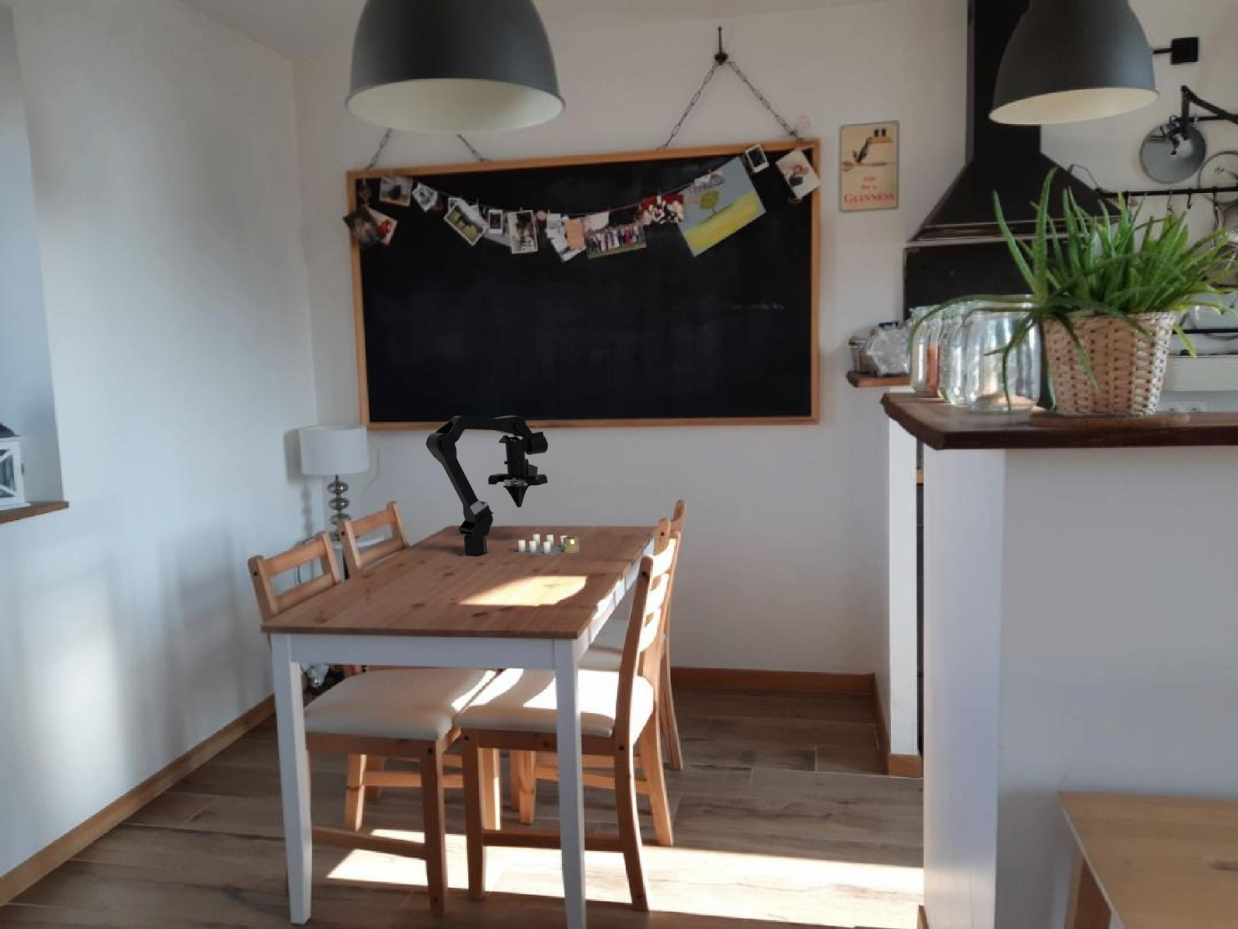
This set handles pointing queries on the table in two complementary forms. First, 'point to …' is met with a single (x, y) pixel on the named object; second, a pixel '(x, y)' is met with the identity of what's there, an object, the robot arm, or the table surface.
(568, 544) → the knob
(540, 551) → the mat
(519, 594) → the table surface
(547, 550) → the spacers
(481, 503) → the robot arm
